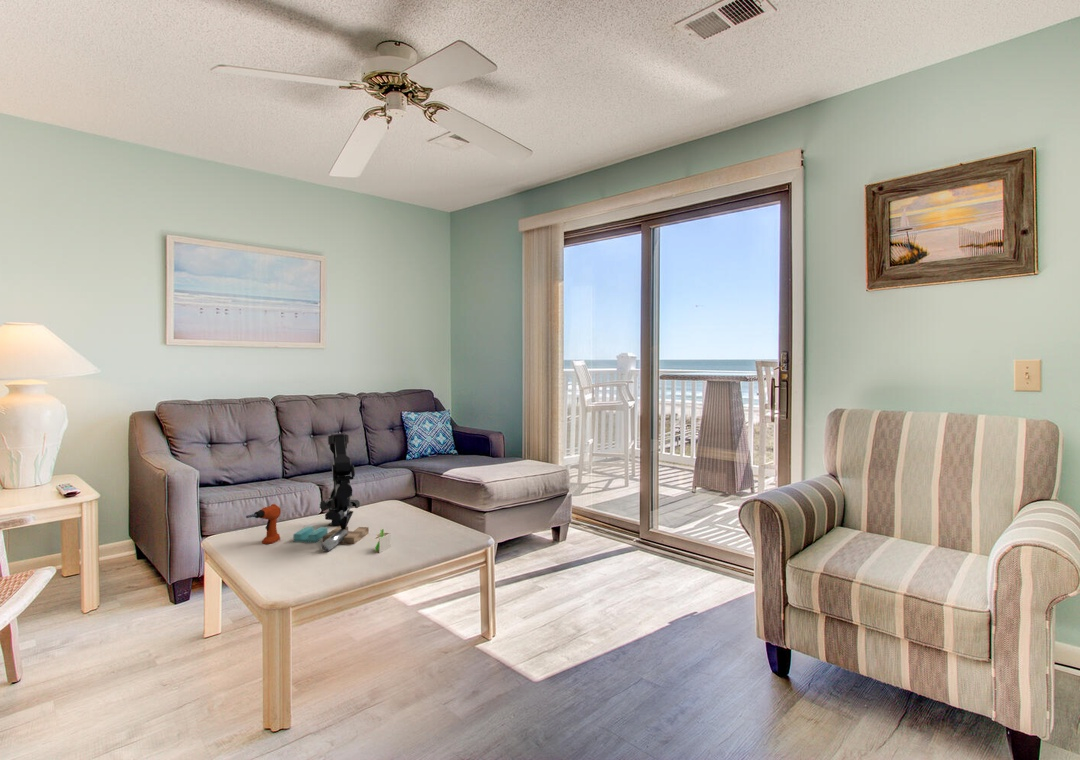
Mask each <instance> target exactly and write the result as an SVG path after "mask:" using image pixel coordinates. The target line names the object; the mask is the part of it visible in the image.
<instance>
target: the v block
mask: <svg viewBox="0 0 1080 760" xmlns="http://www.w3.org/2000/svg"><path fill="white" fill-rule="evenodd" d="M326 534H328V527H327V526H326V527H323V526H320V527H318V528H317V529H315V530H314V526H306V527H304V528H302V529H299V530H298V531H297V532H295V533H293V542H295V543H313V544H314V543H317V542H318V541H320V540H323V536H324V535H326Z"/></svg>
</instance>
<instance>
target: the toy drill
mask: <svg viewBox="0 0 1080 760" xmlns="http://www.w3.org/2000/svg"><path fill="white" fill-rule="evenodd" d="M281 511H282V509H281V507H280V506H279V505H277V504H276V503H273V504H271V505H268V506H264V507H263V508H261V509H259V510H257V511H255V512H254V513H252V514H247V515H246V516H245V518H246V519H249V518H255V519H263V520H267V522H266V526H265V530H266V535H265V537H263V539H262V540H261V544H263V545H272V544H274V543H277V542H278V541H280V540H281V536H280V533H278V530H277V521H278V519H279V517H280V516H281Z"/></svg>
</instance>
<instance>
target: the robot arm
mask: <svg viewBox="0 0 1080 760" xmlns="http://www.w3.org/2000/svg"><path fill="white" fill-rule="evenodd" d="M349 438H350V437H349V434H346V433H331V434H330V435H328V436H327V445H328V447H329V450H330V452H331V453H332V454H333V455H332V461H333V462H332V463H333V464H331V471H332V472H331V473H332V475H331V476H332V481H333V482H332V483H333V487H332V489H331V491H330V493H329V497H328V499H324V500H322V501H320V504H319V509H321V510H322V511H323V512H325V511H327V512H326V513H325V515H324V516H325V517H324V519H325V520H327V521H328V520H329V521H331V522H329V523H328V524H327V525H328V526H333V527H335V526H336V527H339V526H341V529H346V527H347V526H348V525H349V522H350V520H351V518H352V516H353V514H354V511H352V510H351V508H353V507H354V508H355V509H358V508H360V507H361V506H360V505H361V502H360V501H359V500H358V499H351V497H353V488H352V484H351V480H354V477H356V475H355V474H356V473H355V466H354V463H352V461H351V458H350V457H349V456H348V455H347V449H348V444H349V443H350V441H349Z"/></svg>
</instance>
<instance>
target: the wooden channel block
mask: <svg viewBox="0 0 1080 760" xmlns="http://www.w3.org/2000/svg"><path fill="white" fill-rule="evenodd" d="M340 529H341V526H336V528H334V529H332V530H331V531H328V532H327V534H326V535H324V536H323V538H322V543H323V542H324V541H325V540H326V539H328V538H329V537H331V536H332V535H333V534H335V533H336V532H337V531H339V530H340ZM369 529H370V528H369V526H359V527H357V528H355V529H354V530H353V531H351V530H350V531H349V526H348V525H347V527H346V529H345V530H346V531H347V533H348V535H347V536H346V537H344V540H342V541H341V542H340V543H338V544H337V545H339V544H341V545H342V544H343V545H355V544H356V543H358V542H359V541H360V540H362V539H363V538H364V537H366V536H367V535H368V534H370V533H369Z"/></svg>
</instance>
